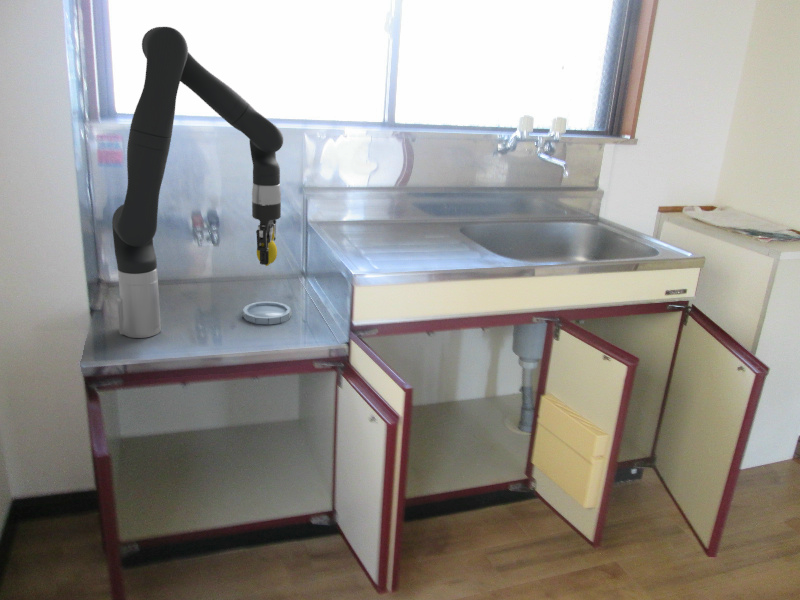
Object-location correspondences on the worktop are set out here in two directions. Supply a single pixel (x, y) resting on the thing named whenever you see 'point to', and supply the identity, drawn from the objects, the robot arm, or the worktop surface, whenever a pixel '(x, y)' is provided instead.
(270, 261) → the lemon
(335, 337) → the worktop surface
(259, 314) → the dish
